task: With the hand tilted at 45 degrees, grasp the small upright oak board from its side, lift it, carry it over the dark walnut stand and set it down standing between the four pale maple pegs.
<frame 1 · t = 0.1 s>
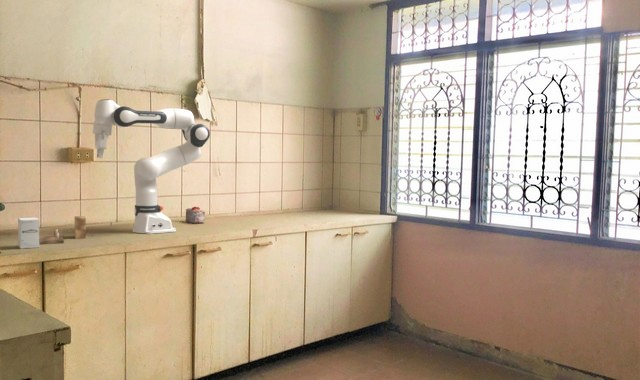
hand: (99, 158, 269), 39 cm above the countertop, tool pointing down, fingers open, 8 cm apart
supplement box: (28, 247, 232), on the countertop
food item: (195, 223, 320), on the countertop
peg stand: (46, 241, 246), on the countertop
oak board: (80, 237, 259), on the countertop
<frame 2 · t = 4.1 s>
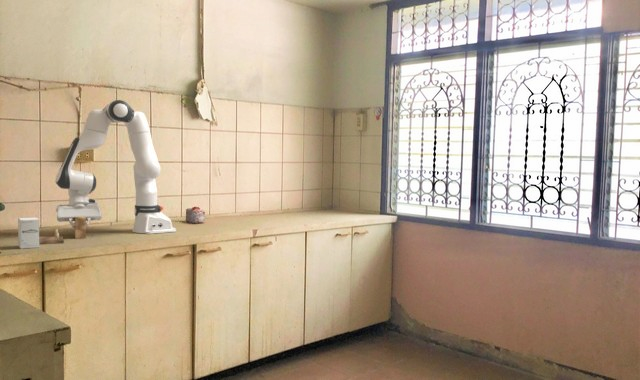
hand: (80, 226, 258), 5 cm above the countertop, tool tilted 45°, fingers closed on oak board, 4 cm apart
oak board: (80, 237, 259), on the countertop, touching gripper
everything else where it was.
when the fingers open (8 cm above the countertop, at t = 8.9 s): oak board drops 1 cm, resting on peg stand.
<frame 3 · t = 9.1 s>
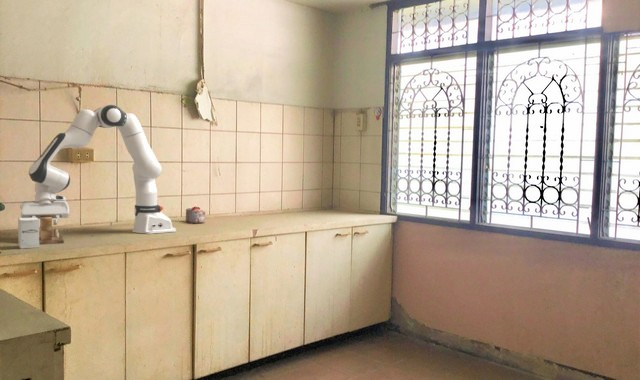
hand: (46, 224, 245), 8 cm above the countertop, tool tilted 45°, fingers open, 6 cm apart
oak board: (46, 238, 246), point 1 cm above the countertop, touching peg stand
everything else where it was.
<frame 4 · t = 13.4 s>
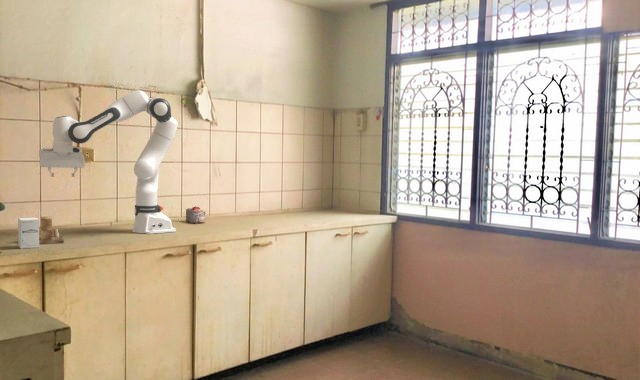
hand: (62, 176, 263), 29 cm above the countertop, tool pointing down, fingers open, 8 cm apart
nothing on the countertop moved.
at the end: oak board 0.1 cm off-centre on the peg stand, point 1.2 cm above the peg stand's base; oak board tilted 0°; the gripper is holding nothing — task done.
